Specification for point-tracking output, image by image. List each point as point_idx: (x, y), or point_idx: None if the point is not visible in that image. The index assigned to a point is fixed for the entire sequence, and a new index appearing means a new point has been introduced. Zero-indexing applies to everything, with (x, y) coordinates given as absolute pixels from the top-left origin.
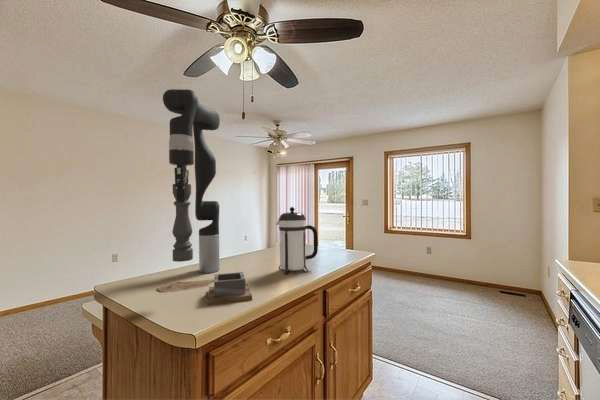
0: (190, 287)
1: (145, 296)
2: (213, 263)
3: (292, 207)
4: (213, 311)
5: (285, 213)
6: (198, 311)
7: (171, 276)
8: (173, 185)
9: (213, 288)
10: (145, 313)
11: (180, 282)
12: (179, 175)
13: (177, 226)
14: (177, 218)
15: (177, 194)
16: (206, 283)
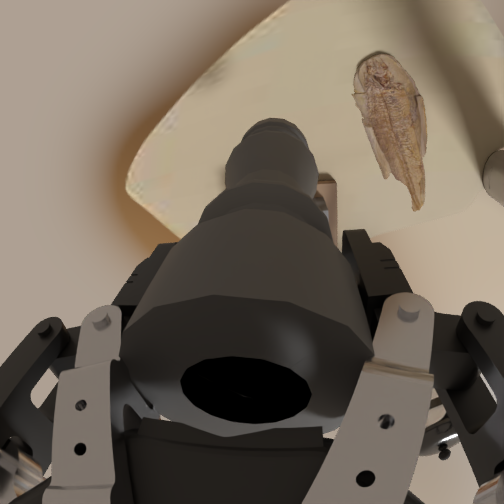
0: (374, 132)
1: (331, 36)
2: (496, 193)
3: (442, 459)
4: (204, 203)
5: (442, 440)
6: (208, 175)
7: (482, 82)
8: (150, 300)
9: (322, 193)
10: (214, 73)
11: (416, 105)
12: (14, 432)
13: (229, 170)
14: (233, 180)
15: (142, 275)
16: (399, 169)
